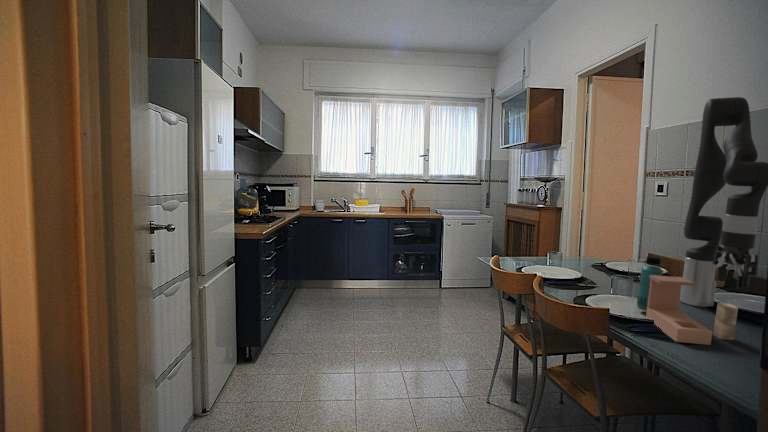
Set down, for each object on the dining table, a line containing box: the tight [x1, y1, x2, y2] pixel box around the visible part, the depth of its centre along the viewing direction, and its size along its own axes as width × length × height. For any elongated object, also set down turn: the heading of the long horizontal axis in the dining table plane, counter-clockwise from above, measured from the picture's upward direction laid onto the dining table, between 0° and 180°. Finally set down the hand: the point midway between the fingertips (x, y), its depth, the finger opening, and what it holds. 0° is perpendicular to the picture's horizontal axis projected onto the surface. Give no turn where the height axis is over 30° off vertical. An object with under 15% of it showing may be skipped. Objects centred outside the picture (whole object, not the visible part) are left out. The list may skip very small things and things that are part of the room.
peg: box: [712, 302, 739, 341], centre depth 120 cm, size 3×3×10 cm
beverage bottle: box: [636, 255, 664, 312], centre depth 138 cm, size 6×7×20 cm
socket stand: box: [645, 275, 713, 346], centre depth 123 cm, size 10×18×15 cm, turn 171°
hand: (730, 284), depth 118 cm, fingers open, 8 cm apart
